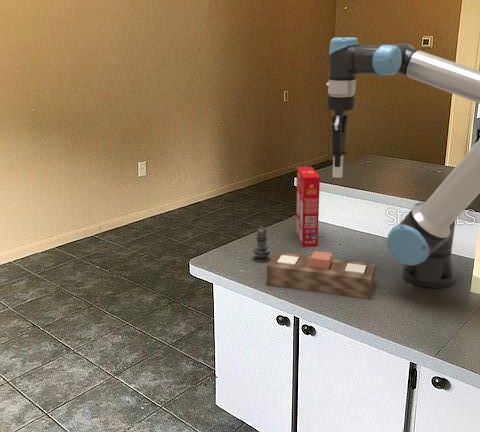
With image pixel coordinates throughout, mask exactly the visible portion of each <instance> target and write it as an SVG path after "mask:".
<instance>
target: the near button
mask: <svg viewBox="0 0 480 432" xmlns="http://www.w3.org/2000/svg"><path fill="white" fill-rule="evenodd" d="M345 272H346V273H354V274H362V275H365V273H366V265H359V264H351V263H347V266H346V268H345Z"/></svg>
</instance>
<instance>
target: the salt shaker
mask: <svg viewBox="0 0 480 432" xmlns="http://www.w3.org/2000/svg"><path fill="white" fill-rule="evenodd" d="M267 240H268V237H267V229H266V228H265V227H264V226H263V224H262V225H260V227H258V228H257V236H256V241H257V242H256V244H257V245H256V246H254V247H253V248H252V250H253V254H254V255H255V256H254V258H253V260H254V261H255V262H257V263H267V262H270V261H271V260H270V259H271V258H270V257H269V255H270V253H271V247H270V246H268V245H267Z"/></svg>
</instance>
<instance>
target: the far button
mask: <svg viewBox="0 0 480 432" xmlns="http://www.w3.org/2000/svg"><path fill="white" fill-rule="evenodd" d="M298 261H299V257H294V256H286V255H281V257H280V258H279V260H278V261H277V264H284V265H291V266H296V264H297V263H298Z"/></svg>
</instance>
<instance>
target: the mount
mask: <svg viewBox="0 0 480 432" xmlns="http://www.w3.org/2000/svg"><path fill="white" fill-rule="evenodd" d="M281 255H286V256H294V257H299V261H298V263H297V264H296V266H291V265H284V264H277V261H278V260H279V258H280V257H281ZM311 256H312V255H303V254H296V253H288V252H279V251H277V252H275V254H274V256H273V257H272V258H271V260H269V261H268V262H269V263H268V264H267V265H266V285H267V286H268V285H269V286H274V287H275V286H277V287H283V288H289V287H290V288H291V289H296V288H297V290H302V291H303V290H304V291H312V292H318V293H324V294H331V293H332V294H331V295H333V294H334V295H338V294H339V295H340V296H347V297H354V298H358V299H361V298H362V299H367V300H370V299H371V295H372V290H373V288H374V284H375V276H376V275H375V273H376V272H375V271H376V263H370V262H363V261H355V260H345V259H339V258H332V266H331V268H330V270H323V269H315V268H310V258H311ZM347 263H351V264H359V265H366V273H365V275H362V274H354V273H346V272H345V268H346V266H347Z"/></svg>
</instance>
